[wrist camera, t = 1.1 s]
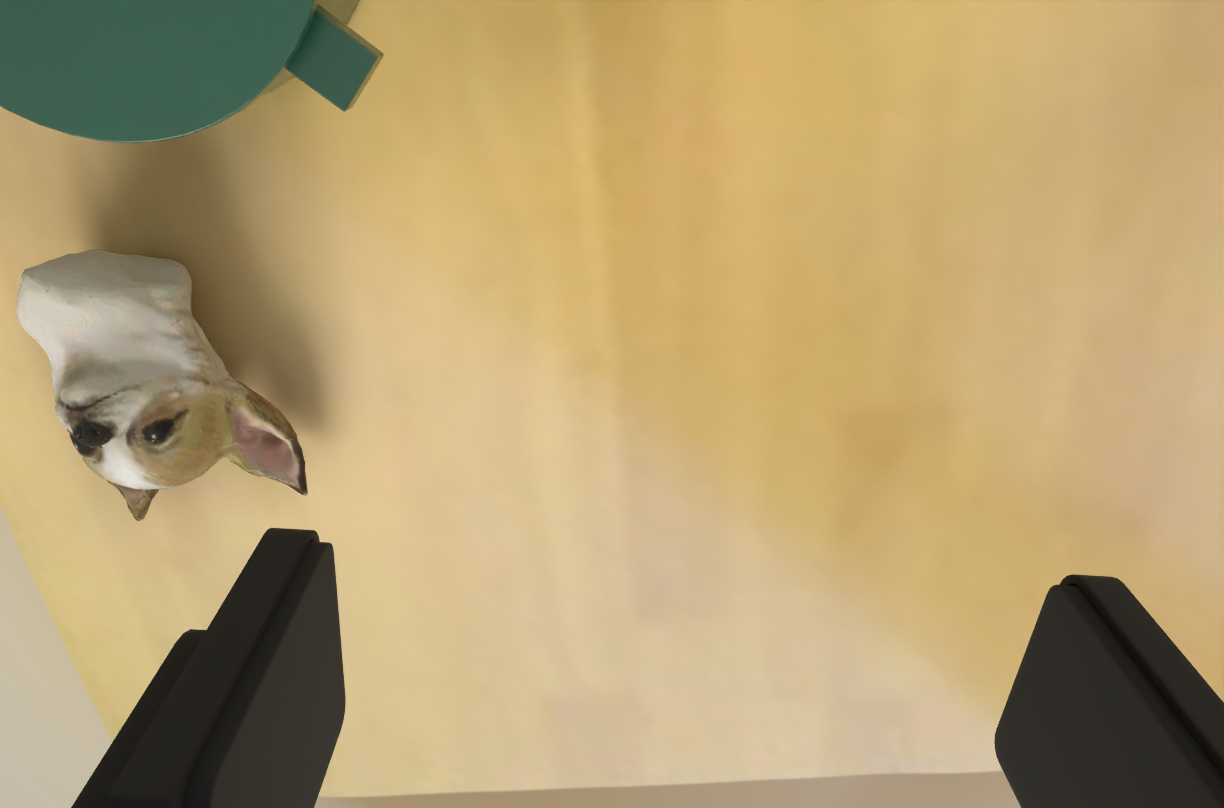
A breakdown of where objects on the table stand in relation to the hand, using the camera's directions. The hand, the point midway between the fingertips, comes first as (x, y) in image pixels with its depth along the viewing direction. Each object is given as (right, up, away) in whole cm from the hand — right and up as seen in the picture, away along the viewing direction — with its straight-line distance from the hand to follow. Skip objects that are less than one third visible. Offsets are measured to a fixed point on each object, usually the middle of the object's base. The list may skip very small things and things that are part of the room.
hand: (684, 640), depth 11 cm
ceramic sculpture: (-22, +5, +33) cm, 40 cm away
